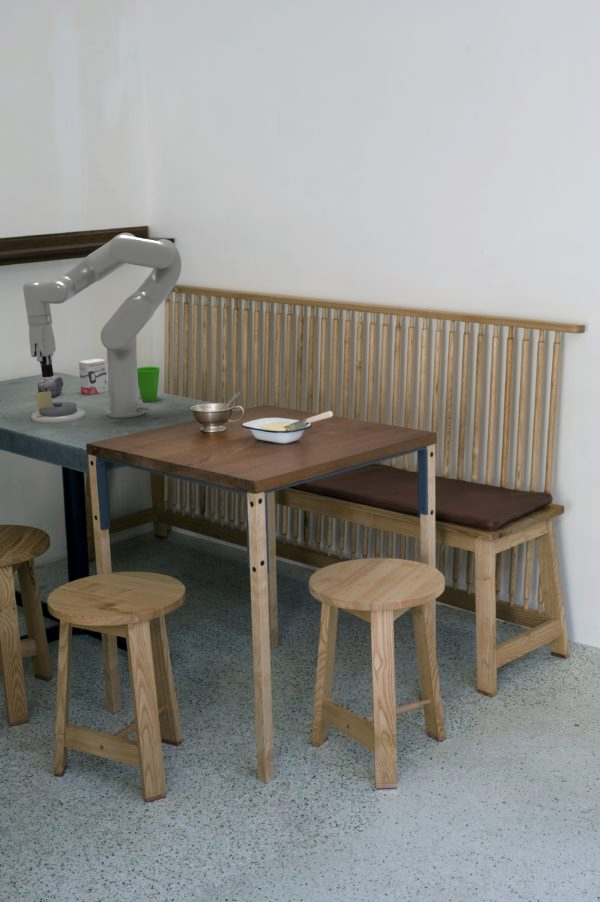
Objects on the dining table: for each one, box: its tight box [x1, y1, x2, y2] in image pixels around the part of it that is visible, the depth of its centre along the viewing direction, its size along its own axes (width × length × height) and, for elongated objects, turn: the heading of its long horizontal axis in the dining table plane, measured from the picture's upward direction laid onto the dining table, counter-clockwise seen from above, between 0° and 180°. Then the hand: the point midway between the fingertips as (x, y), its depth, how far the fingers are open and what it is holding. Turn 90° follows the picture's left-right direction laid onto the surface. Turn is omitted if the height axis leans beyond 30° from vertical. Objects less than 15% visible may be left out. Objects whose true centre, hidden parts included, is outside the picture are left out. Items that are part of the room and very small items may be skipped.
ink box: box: [78, 357, 109, 396], centre depth 394 cm, size 8×5×12 cm, turn 134°
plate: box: [30, 407, 86, 424], centre depth 357 cm, size 17×17×2 cm
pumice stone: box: [37, 375, 64, 399], centre depth 391 cm, size 10×8×10 cm
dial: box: [35, 391, 78, 416], centre depth 356 cm, size 12×12×7 cm
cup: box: [137, 365, 161, 403], centre depth 379 cm, size 9×9×11 cm
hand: (48, 376), depth 356 cm, fingers closed
